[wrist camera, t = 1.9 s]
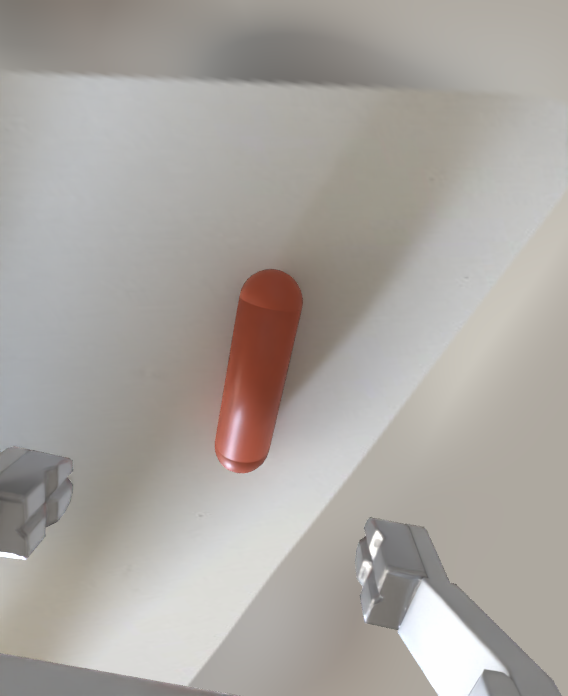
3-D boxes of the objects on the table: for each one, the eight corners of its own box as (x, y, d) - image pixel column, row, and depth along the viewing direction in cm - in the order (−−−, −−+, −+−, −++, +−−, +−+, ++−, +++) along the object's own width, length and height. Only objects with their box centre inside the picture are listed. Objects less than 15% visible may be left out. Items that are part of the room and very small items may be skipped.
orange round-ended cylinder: (249, 260, 16) (239, 266, 14) (308, 272, 16) (310, 282, 14) (217, 445, 20) (205, 479, 17) (266, 455, 20) (261, 490, 17)
